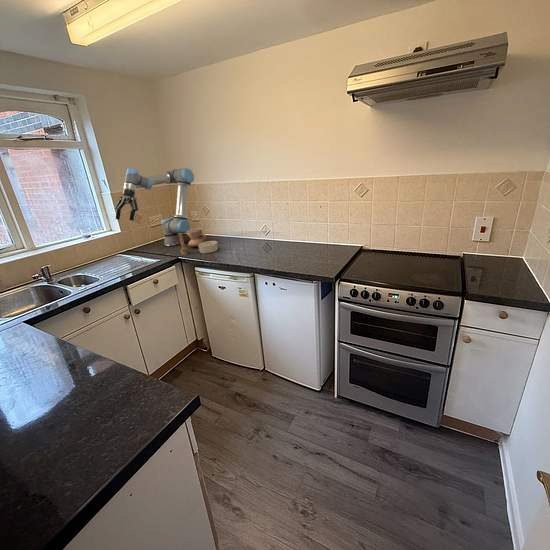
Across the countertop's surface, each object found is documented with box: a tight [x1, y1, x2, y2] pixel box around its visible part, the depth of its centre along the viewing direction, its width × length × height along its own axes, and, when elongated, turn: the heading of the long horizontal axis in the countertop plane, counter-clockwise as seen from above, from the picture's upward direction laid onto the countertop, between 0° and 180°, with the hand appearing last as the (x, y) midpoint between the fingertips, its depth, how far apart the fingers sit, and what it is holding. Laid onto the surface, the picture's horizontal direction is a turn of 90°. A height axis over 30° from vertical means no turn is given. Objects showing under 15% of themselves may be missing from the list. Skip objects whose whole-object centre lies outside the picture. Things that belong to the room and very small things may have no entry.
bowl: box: [197, 240, 219, 255], centre depth 231 cm, size 15×15×6 cm
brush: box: [178, 233, 189, 255], centre depth 229 cm, size 5×5×16 cm
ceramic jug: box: [186, 227, 207, 249], centre depth 246 cm, size 18×14×14 cm
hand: (124, 219), depth 210 cm, fingers open, 13 cm apart
